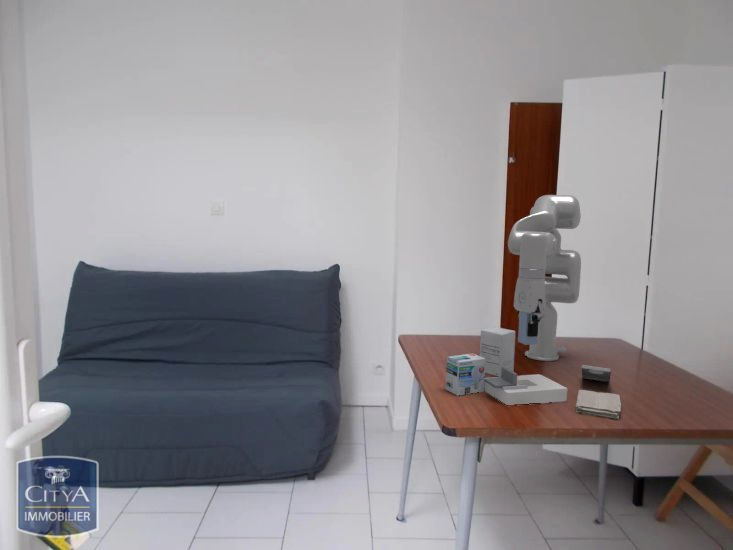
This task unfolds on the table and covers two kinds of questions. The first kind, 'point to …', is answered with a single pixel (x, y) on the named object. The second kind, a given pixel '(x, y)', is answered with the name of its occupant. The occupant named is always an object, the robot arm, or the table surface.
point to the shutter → (503, 379)
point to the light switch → (596, 373)
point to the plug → (525, 330)
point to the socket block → (529, 391)
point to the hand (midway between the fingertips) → (527, 333)
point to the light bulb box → (465, 374)
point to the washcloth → (598, 404)
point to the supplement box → (497, 349)
